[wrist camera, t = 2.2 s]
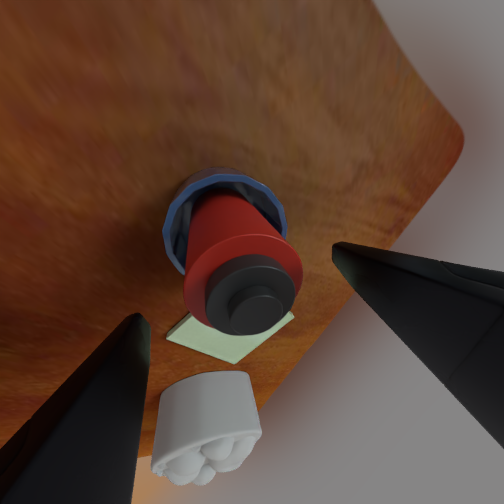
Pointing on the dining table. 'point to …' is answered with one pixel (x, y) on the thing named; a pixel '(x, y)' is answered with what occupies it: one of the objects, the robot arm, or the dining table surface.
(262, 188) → the cup
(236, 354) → the tile
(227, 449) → the lumpy-topped squat cylinder
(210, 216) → the bottle
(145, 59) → the dining table surface
